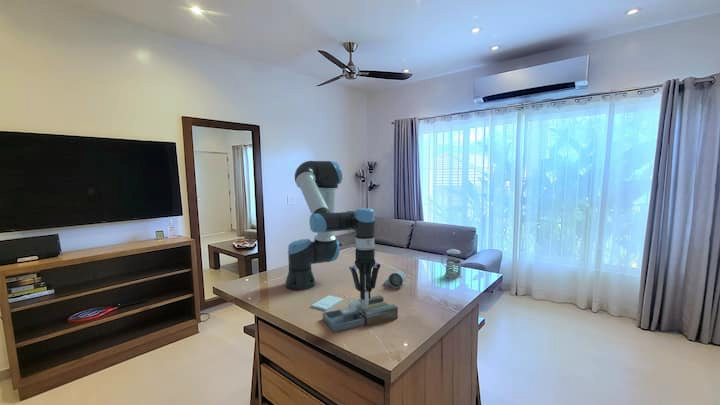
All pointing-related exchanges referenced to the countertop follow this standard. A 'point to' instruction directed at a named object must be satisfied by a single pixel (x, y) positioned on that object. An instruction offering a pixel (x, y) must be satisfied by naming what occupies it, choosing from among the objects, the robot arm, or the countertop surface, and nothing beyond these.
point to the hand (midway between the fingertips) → (365, 306)
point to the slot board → (378, 318)
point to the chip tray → (336, 324)
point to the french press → (456, 262)
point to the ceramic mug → (395, 279)
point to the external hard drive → (327, 303)
